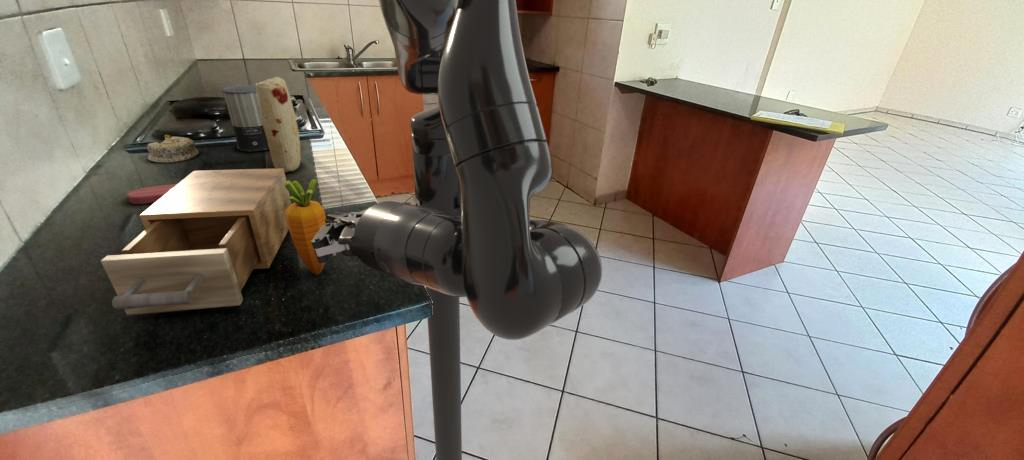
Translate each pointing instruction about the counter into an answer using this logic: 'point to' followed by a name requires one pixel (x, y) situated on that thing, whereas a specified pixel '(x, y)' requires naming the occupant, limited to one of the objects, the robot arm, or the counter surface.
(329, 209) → the counter surface
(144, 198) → the popsicle
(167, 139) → the cake
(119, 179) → the counter surface
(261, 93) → the food model
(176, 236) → the drawer
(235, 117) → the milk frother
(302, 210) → the carrot
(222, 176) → the cabinet
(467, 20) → the robot arm
